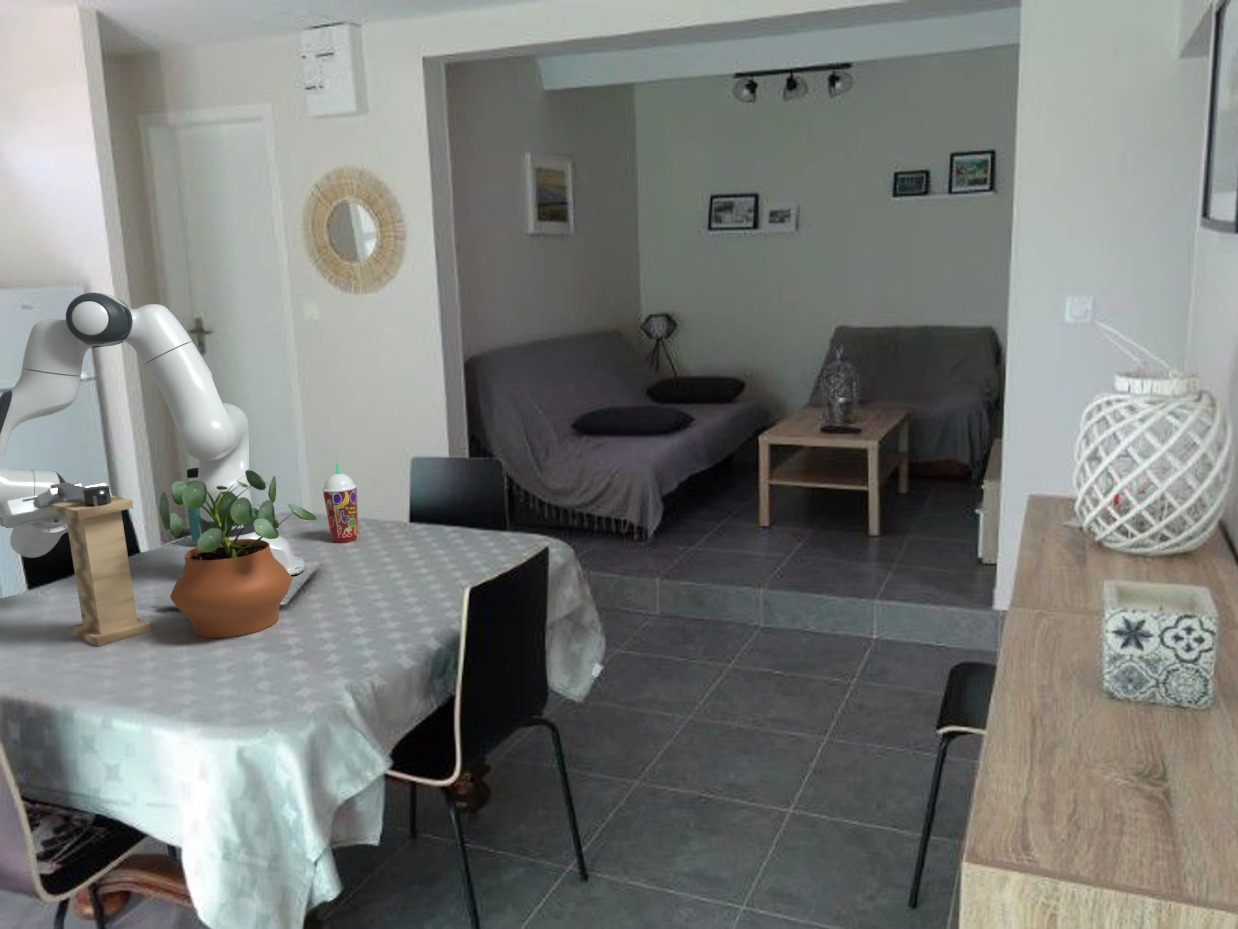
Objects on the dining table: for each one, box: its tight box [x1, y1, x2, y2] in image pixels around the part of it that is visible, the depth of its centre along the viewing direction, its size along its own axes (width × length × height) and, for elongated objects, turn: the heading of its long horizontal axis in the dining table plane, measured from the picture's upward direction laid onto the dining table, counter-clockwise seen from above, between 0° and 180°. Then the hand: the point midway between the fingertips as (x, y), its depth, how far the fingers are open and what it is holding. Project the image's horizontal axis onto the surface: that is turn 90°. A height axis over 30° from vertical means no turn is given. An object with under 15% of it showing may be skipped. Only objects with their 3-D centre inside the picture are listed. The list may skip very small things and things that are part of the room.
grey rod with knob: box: [50, 481, 111, 507], centre depth 198 cm, size 20×4×3 cm, turn 49°
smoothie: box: [322, 462, 359, 544], centre depth 260 cm, size 8×8×20 cm
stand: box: [51, 494, 152, 648], centre depth 198 cm, size 12×10×26 cm
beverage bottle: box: [185, 467, 201, 543], centre depth 263 cm, size 6×7×20 cm
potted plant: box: [158, 469, 317, 639], centre depth 199 cm, size 23×28×30 cm
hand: (66, 488), depth 202 cm, fingers closed on grey rod with knob, 3 cm apart
